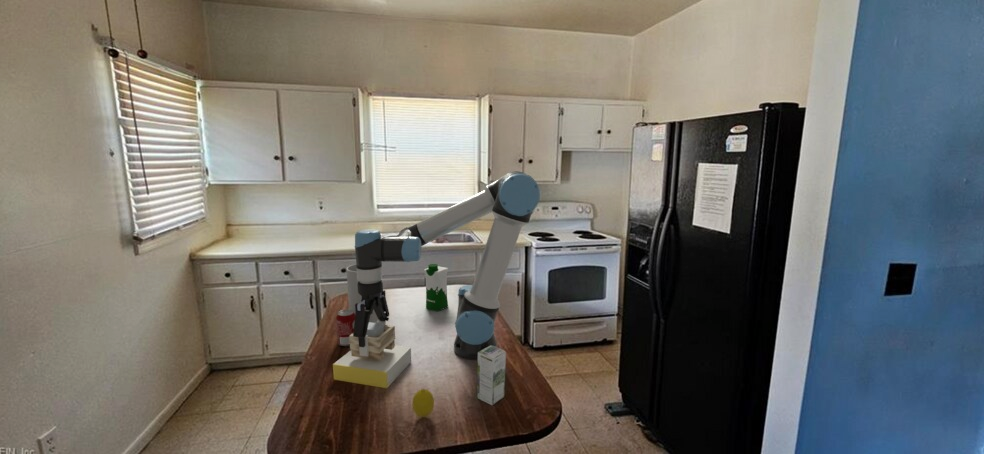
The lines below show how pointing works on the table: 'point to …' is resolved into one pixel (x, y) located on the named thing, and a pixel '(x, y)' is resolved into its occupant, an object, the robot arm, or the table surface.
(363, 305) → the robot arm
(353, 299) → the cylinder vase
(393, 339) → the wooden crate with cube
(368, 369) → the dock
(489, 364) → the syrup box
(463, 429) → the table surface
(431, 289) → the milk carton
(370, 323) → the cargo block
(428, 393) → the lemon
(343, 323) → the soda can
